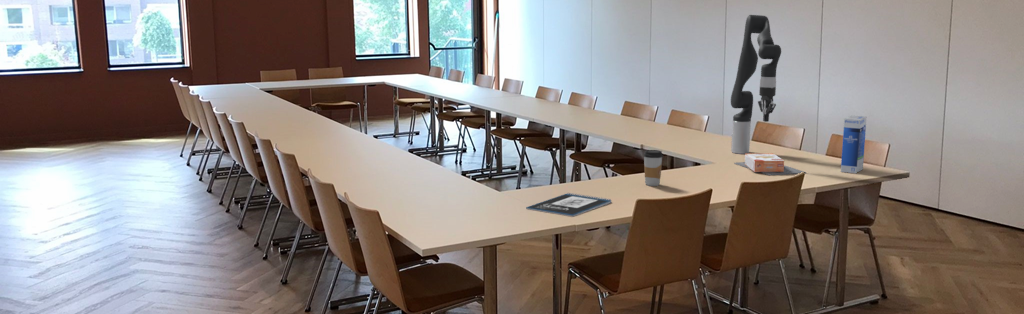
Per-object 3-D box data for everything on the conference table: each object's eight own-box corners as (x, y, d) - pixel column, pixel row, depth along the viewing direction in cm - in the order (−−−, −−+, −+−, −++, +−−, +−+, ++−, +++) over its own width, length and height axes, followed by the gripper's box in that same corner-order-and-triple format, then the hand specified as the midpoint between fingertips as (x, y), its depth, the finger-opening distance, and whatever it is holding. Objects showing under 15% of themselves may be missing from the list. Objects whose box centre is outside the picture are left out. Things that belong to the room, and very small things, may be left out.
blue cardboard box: (847, 167, 424) (851, 115, 420) (863, 169, 420) (867, 116, 415) (840, 172, 414) (843, 118, 409) (856, 173, 409) (860, 119, 405)
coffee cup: (657, 187, 379) (658, 153, 377) (639, 185, 384) (640, 151, 381) (664, 184, 386) (665, 150, 384) (647, 182, 390) (648, 149, 388)
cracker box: (773, 152, 429) (784, 160, 408) (772, 164, 430) (784, 172, 410) (744, 152, 430) (754, 160, 409) (744, 164, 431) (754, 172, 410)
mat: (734, 163, 436) (734, 162, 436) (769, 161, 441) (769, 160, 441) (768, 175, 405) (768, 174, 405) (806, 173, 410) (806, 172, 410)
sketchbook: (526, 210, 339) (525, 205, 339) (567, 197, 363) (567, 192, 363) (572, 218, 327) (572, 212, 326) (612, 203, 351) (612, 198, 350)
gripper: (753, 84, 426) (751, 119, 429) (768, 87, 413) (766, 123, 417) (767, 84, 428) (765, 119, 431) (782, 87, 415) (780, 123, 418)
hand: (765, 121), depth 424 cm, fingers closed
